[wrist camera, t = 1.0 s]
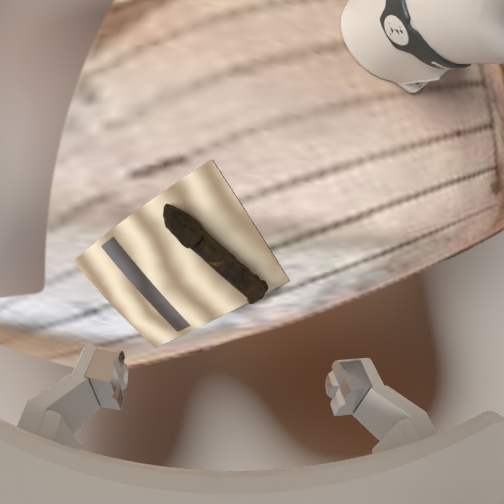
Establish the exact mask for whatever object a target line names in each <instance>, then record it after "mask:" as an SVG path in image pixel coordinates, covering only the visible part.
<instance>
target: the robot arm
mask: <svg viewBox="0 0 504 504" xmlns="http://www.w3.org/2000/svg"><path fill="white" fill-rule="evenodd" d="M341 31H342V35H343V38H344V41H345V43H346V45H347V47H348V49H349V51H350V52H351V54H352V55H353V57H354V58H355V59H356V60H357V61H358V62H359V63H360V64H361V65H362V66H363V67H364V68H365V69H366V70H368V71H369V72H371V73H372V74H374V75H376V76H378V77H380V78H382V79H385V80H389V81H392V82H395V83H397V84H398V85H399V86H400V87H401V88H403V89H404V90H405V91H407V92H409V93H415V92H418V91H419V90H420V89H421V88H423V87H424V86H425V85H427V84H428V83H429V82H430V81H436V80H439V79H440V76H442V75H443V74H444V73H446V72H447V71H448V70H449V69H460V68H463V67H468V66H470V65H471V64H504V0H349V1H348V3H347V5H346V6H345V8H344V10H343V13H342V16H341ZM416 83H417V84H416ZM124 359H125V355H124V352H123V351H121V350H115V349H110V348H105V347H100V346H94V345H89V344H87V345H86V346H84V348H83V350H82V353H81V355H80V357H79V359H78V362H77V364H76V366H75V368H74V371H73V373H72V374H67V375H66V376H65V377H63V378H62V379H60V380H59V381H57V382H56V383H54V384H53V385H51V386H50V387H48V388H47V389H45V390H44V391H42V392H41V393H39V394H38V395H36V396H35V397H33V398H32V399H30V400H29V401H28V402H27V404H26V406H25V409H24V411H23V413H22V416H21V418H20V421H19V423H18V426H15V425H12V424H10V423H8V422H6V421H4V420H2V419H0V504H504V417H502V416H501V415H499V414H497V413H495V412H493V411H487V412H484V413H482V414H480V415H478V416H476V417H474V418H472V419H470V420H468V421H466V422H463V423H461V424H459V425H457V426H454V427H452V428H450V429H447V430H445V431H442V432H440V433H436V431H435V429H434V427H433V425H432V423H431V421H430V419H429V417H428V415H427V413H426V412H425V411H423V410H422V409H421V408H419V407H418V406H416V405H415V404H413V403H412V402H410V401H409V400H407V399H406V398H404V397H403V396H402V395H400V394H399V393H397V392H396V391H394V390H393V389H391V388H390V387H388V386H384V384H383V382H382V381H381V378H380V377H379V375H378V373H377V371H376V369H375V367H374V365H373V363H372V361H371V360H370V359H369V358H362V359H349V360H336V361H335V362H334V363H333V365H332V369H333V371H331V372H330V373H329V374H328V376H327V378H326V384H325V386H326V392H327V395H328V396H329V397H331V398H332V401H331V403H330V404H331V407H332V410H333V413H334V416H340V415H348V414H353V416H354V417H355V418H356V419H357V420H358V421H359V422H360V423H361V424H363V425H364V426H365V427H366V428H367V429H368V430H369V431H370V432H371V433H372V434H373V435H374V436H375V437H376V438H377V439H378V440H379V441H380V442H379V443H378V444H377V445H376V446H375V447H374V448H373V450H372V452H373V454H371V455H367V456H362V457H358V458H353V459H349V460H344V461H339V462H333V463H327V464H321V465H314V466H306V467H298V468H288V469H276V470H259V471H209V470H192V469H180V468H170V467H162V466H154V465H148V464H141V463H136V462H130V461H125V460H120V459H115V458H111V457H107V456H102V455H98V454H94V453H91V452H87V451H83V450H81V449H82V445H81V444H80V442H79V441H78V440H77V438H76V437H75V436H74V433H75V432H76V431H77V430H78V429H79V428H80V427H81V426H82V425H83V424H84V423H85V422H86V421H87V420H88V419H89V418H91V416H93V414H95V412H97V411H98V410H99V409H100V406H101V407H106V408H111V409H117V410H121V406H122V402H123V398H124V396H123V392H122V390H124V389H125V388H126V386H127V382H128V368H127V365H126V364H125V363H124Z"/></svg>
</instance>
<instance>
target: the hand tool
mask: <svg viewBox="0 0 504 504" xmlns="http://www.w3.org/2000/svg"><path fill="white" fill-rule="evenodd" d="M163 210H164V211H163V218H164V223H165V227H166V228H167V229H168V230H169V231H170V232H171V233H172V234H173V235H174V236H175V237H176V238H177V240H178V241H179V242H180V243H181V244H182V245H183V246H184V247H186V248H190V249H191V250H193V251H194V252H195V253H196V254H198V255H199V256H200V257H201V258H202V259H203V260H204V261H205V262H206V263H207V264H209V265H210V266H211V267H212V268H213V269H214V270H215V271H216V272H217V273H218V274H220V275H221V276H222V277H223V278H224V279H225V280H226V281H228V282H229V283H230V284H231V285H232V286H233V287H235V288H236V289H237V290H238V291H239V292H241V293H242V294H243V295H244V296H245V297H246V298H247V301H248V302H249V303H250V304H253V303H255V302H257V301H258V300H261V299H262V298H263V296H264V294H265V293H266V292H267V290H268V284H267V283H266V281H264V280H260V278H259V276H258V275H255V274H253V273H252V272H251V271H250V270H249V268H248V267H246V266H245V265H244V264H242V263H241V262H240V261H239V260H237V259H236V257H235V256H234V255H233V254H231V253H230V252H229V251H228V250H227V249H225V248H224V247H223V246H222V245H221V244H220V243H219V242H218V241H217V240H216V239H214V238H213V237H212V236H211V235H210V234H209V233H208V232H207V231H206V230H205V229H204V228H203V227H202V225H201V224H200V223H199V222H198V221H197V220H196V219H194V218H193V217H192V216H190V215H188V214H187V213H185V212H183V211H182V210H180V209H178V208H176V207H174V206H172V205H170V204H165V206H164V209H163Z"/></svg>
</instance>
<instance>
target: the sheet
mask: <svg viewBox="0 0 504 504" xmlns="http://www.w3.org/2000/svg"><path fill="white" fill-rule="evenodd" d="M165 204H170V205H172V206H174V207H176V208H178V209H180V210H182V211H183V212H185V213H187V214H188V215H190V216H192V217H193V218H194V219H196V220H197V221H198V222H199V223H200V224H201V225H202V227H203V228H204V229H205V230H206V231H207V232H208V233H209V234H210V235H211V236H212V237H213V238H214V239H216V240H217V241H218V242H219V243H220V244H221V245H222V246H223V247H224V248H225V249H227V250H228V251H229V252H230V253H231V254H233V255H234V256H235V257H236V259H237V260H239V261H240V262H241V263H242V264H244V265H245V266H246V267H248V268H249V270H250V271H251V272H252V273H253V274H255V275H258V276H259V278H260V280H264V281H266V283H267V284H268V290H267V292H269V291H271V290H273V289H275V288H277V287H279V286H281V285H283V284H285V283H286V282H288V281H289V279H288V278H287V276H286V275H285V273H284V271H283V270H282V268H281V267H280V265H279V263H278V262H277V260H276V259H275V257H274V255H273V254H272V252H271V251H270V249H269V248H268V246H267V244H266V243H265V241H264V240H263V238H262V237H261V235H260V233H259V232H258V230H257V229H256V227H255V226H254V224H253V222H252V221H251V219H250V218H249V216H248V215H247V213H246V211H245V210H244V208H243V207H242V205H241V204H240V202H239V201H238V199H237V197H236V196H235V194H234V193H233V191H232V190H231V188H230V187H229V185H228V184H227V182H226V180H225V179H224V177H223V176H222V174H221V173H220V171H219V170H218V168H217V167H216V165H215V164H214V162H213V160H210V161H209V162H207V163H206V164H204V165H203V166H201V167H199V168H198V169H196V170H195V171H193V172H192V173H190V174H189V175H187V176H186V177H184V178H183V179H181V180H180V181H178V182H177V183H175V184H174V185H172V186H171V187H169V188H168V189H166V190H165V191H163V192H162V193H160V194H159V195H158V196H156V197H155V198H153V199H152V200H151V201H149V202H148V203H146V204H145V205H144V206H142V207H141V208H139V209H138V210H137V211H135V212H134V213H133V214H131V215H130V216H129V217H127V218H126V219H125V220H123V221H122V222H121V223H119V224H118V225H117V226H116V227H114V228H113V229H112V230H110V231H109V232H108V233H107V234H105V235H104V236H103V237H102V238H100V239H99V240H98V241H97V242H95V243H94V244H93V245H92V246H91V247H89V248H88V249H87V250H86V251H84V252H83V253H82V254H81V255H80V256H79V257H77V258H76V259H75V260H74V262H75V264H76V265H77V266H78V267H79V268H80V270H81V271H82V272H83V273H84V274H85V276H86V277H87V278H88V279H89V280H90V281H91V283H92V284H93V285H94V286H95V287H96V288H97V289H98V290H99V292H100V293H101V294H102V295H103V296H104V297H105V298H106V299H107V300H108V301H109V302H110V304H111V305H112V306H113V307H114V308H115V309H116V310H117V311H118V312H119V313H120V314H121V315H122V316H123V317H124V318H125V319H126V320H127V321H128V322H129V323H130V324H131V325H132V326H133V327H134V328H135V329H136V330H137V331H138V332H139V333H140V334H141V335H142V336H143V337H144V338H145V339H146V340H147V341H148V342H149V343H151V344H152V345H153V346H154V347H155V348H156V347H158V346H160V345H162V344H164V343H166V342H168V341H171V340H173V339H175V338H177V337H179V336H181V335H183V334H185V333H187V332H190V331H192V330H194V329H196V328H198V327H200V326H202V325H204V324H206V323H208V322H210V321H212V320H214V319H216V318H218V317H220V316H222V315H224V314H226V313H228V312H230V311H232V310H234V309H236V308H238V307H240V306H242V305H244V304H246V303H248V301H247V298H246V297H245V296H244V295H243V294H242V293H241V292H239V291H238V290H237V289H236V288H235V287H233V286H232V285H231V284H230V283H229V282H228V281H226V280H225V279H224V278H223V277H222V276H221V275H220V274H218V273H217V272H216V271H215V270H214V269H213V268H212V267H211V266H210V265H209V264H207V263H206V262H205V261H204V260H203V259H202V258H201V257H200V256H199V255H198V254H196V253H195V252H194V251H193V250H191V249H190V248H186V247H184V246H183V245H182V244H181V243H180V242H179V241H178V240H177V238H176V237H175V236H174V235H173V234H172V233H171V232H170V231H169V230H168V229H167V228H166V227H165V223H164V218H163V211H164V210H163V209H164V206H165ZM267 292H266V293H267ZM266 293H265V294H266Z"/></svg>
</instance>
